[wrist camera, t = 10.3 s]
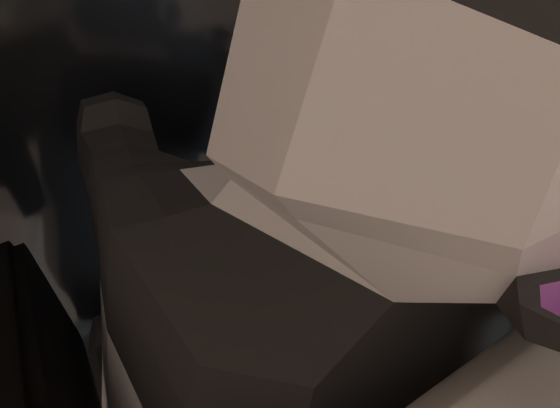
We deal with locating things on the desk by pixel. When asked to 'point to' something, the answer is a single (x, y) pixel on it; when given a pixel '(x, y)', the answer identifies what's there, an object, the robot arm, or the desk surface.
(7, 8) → the dark grey shallow box
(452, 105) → the giant panda
